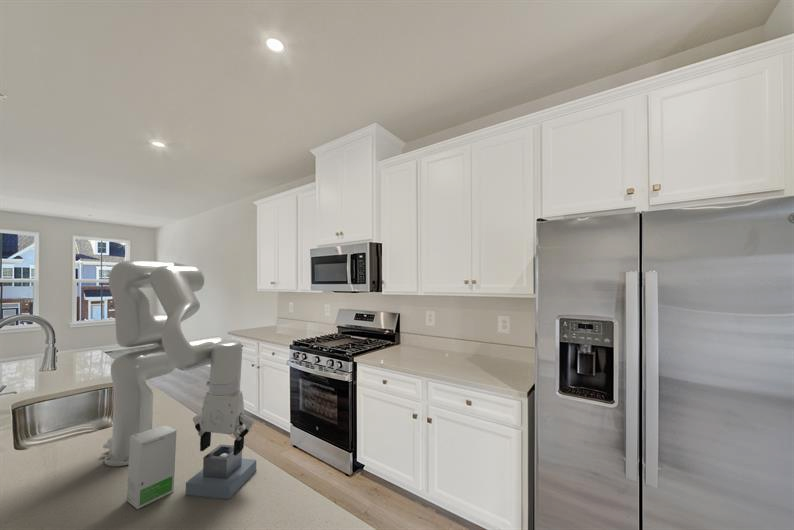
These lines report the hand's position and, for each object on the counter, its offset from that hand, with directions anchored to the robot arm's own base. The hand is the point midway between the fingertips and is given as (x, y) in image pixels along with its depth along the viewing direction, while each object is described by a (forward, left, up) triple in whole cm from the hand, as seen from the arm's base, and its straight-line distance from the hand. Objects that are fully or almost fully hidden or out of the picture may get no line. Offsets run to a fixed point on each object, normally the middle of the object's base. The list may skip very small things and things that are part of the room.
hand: (221, 450), depth 87 cm
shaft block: (+1, 0, -8) cm, 8 cm away
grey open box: (+1, 0, -5) cm, 5 cm away
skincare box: (-14, -8, -8) cm, 18 cm away
